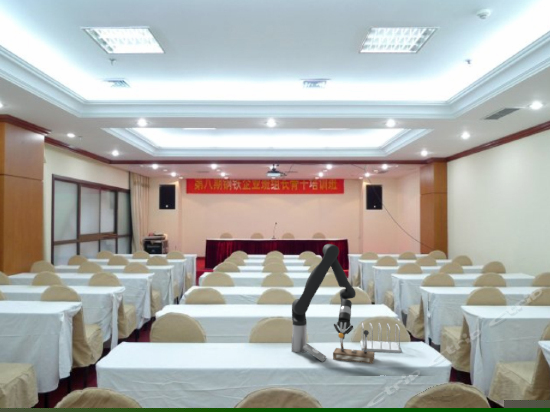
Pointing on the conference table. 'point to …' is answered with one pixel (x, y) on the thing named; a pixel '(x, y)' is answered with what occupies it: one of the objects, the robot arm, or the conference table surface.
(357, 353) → the switch panel
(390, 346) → the file sorter
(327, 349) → the conference table surface
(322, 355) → the light switch
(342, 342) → the lever orange
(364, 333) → the lever black
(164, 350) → the conference table surface
